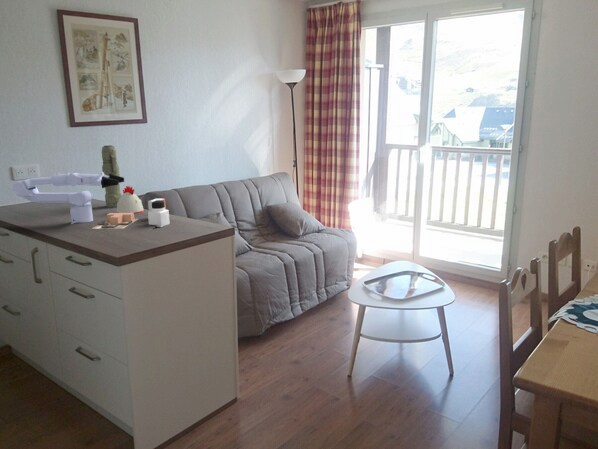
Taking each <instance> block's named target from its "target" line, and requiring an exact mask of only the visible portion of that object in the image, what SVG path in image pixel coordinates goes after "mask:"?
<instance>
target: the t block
mask: <svg viewBox="0 0 598 449" xmlns="http://www.w3.org/2000/svg"><path fill="white" fill-rule="evenodd" d="M134 219H135V214H134V213H117V212H109V213H107V214H106V220H107V222H110V224H118V223H122V222H130V221H133V220H134Z"/></svg>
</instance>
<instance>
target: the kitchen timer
mask: <svg viewBox="0 0 598 449" xmlns="http://www.w3.org/2000/svg"><path fill="white" fill-rule="evenodd" d="M122 193H123V194H121V195H122V196H121V197H120V199H119V201H118V203H117V207H116V213H134V215H135V214H140V213H141V214H143V213H144V206H143V201H142V199H141V198H140V197H139V196H138V195H136V193H135V188H133V186H130V185H129V186H128V185H127V186H125V187H124V189H122Z"/></svg>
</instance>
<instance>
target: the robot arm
mask: <svg viewBox="0 0 598 449" xmlns="http://www.w3.org/2000/svg"><path fill="white" fill-rule="evenodd" d="M124 182H125V177H123V176H120V175H119V176H116V175H114V174H112V173H109V176H107V175H105V174H104V172H103V171H101V172H100V174H97V173H79V172H72V173H70V172H65V173H60V172H56V173H55V174H52V176H49V177H45V176H44V177H31V178H26V179H23V180H18V181H15V182H13V183H12V185H11V186H12V191H13V192H14V194H16V196H17V197H21V198H23V199H25V200H27V201H29V202H32V203H59V204H60V203H62V204H63V203H66V204H68V203H69V204H71V206H70V210H69V213H70V221H71V223H70V225H74V224H76V223H89V222H93V221H94V216H93V207H92V201H93V198H94V197H93V193H92V192H91V191H89V190H86V189H84V190H82V191H75V192H40V191H39V189H38V186H42V185H53V186H54V187H62V186H63V187H64V186H71V187H75V186H76V185H78V186H87V187H88V186H90V187H101V188H102V189H105V187H108V186H114V185H120V184H121V183H124Z"/></svg>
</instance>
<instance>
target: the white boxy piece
mask: <svg viewBox="0 0 598 449" xmlns="http://www.w3.org/2000/svg"><path fill="white" fill-rule="evenodd" d="M155 200H162V201H164V206H165V209H164V210H167V205H166V198H154V199H151V200H147V204H148V205H147V206H148V212H149V211H152V208H151V202H152V201H155Z"/></svg>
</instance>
